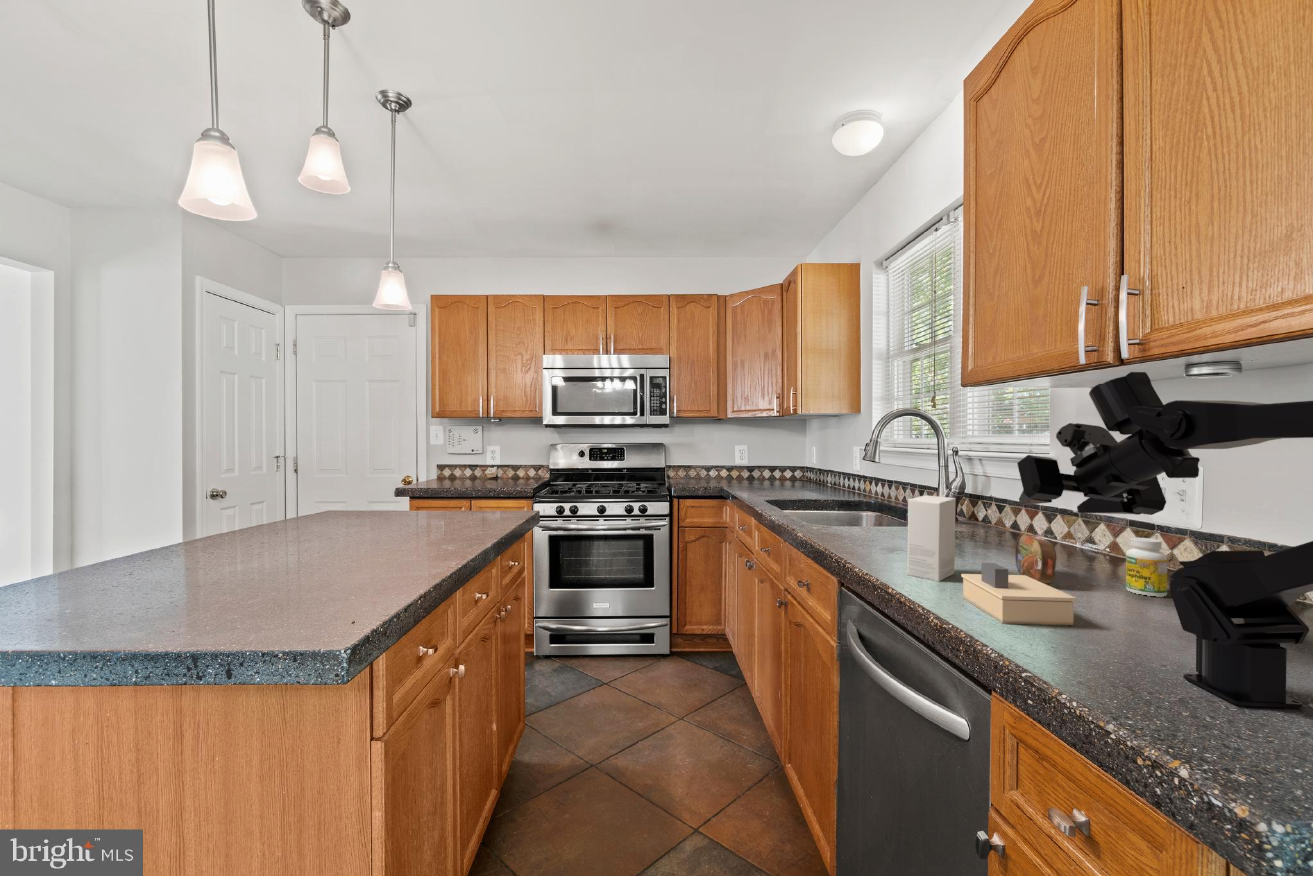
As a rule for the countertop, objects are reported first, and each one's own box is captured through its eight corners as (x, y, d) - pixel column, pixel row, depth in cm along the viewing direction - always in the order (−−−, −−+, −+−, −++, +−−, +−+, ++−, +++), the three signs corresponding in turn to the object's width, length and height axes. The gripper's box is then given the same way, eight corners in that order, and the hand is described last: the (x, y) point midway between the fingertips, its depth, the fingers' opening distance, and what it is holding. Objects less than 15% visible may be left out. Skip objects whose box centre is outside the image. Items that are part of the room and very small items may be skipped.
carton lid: (1075, 601, 78) (1076, 577, 78) (1001, 599, 79) (1002, 576, 79) (1024, 578, 90) (1025, 557, 90) (961, 576, 91) (961, 556, 91)
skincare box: (923, 568, 111) (924, 494, 111) (957, 575, 106) (958, 497, 106) (905, 575, 106) (905, 498, 105) (940, 582, 101) (940, 501, 100)
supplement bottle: (1174, 596, 92) (1175, 541, 92) (1153, 599, 91) (1154, 543, 90) (1138, 587, 97) (1139, 535, 97) (1118, 590, 96) (1118, 537, 96)
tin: (1013, 569, 111) (1013, 529, 111) (1031, 570, 110) (1031, 530, 110) (1038, 589, 97) (1039, 543, 96) (1059, 591, 96) (1059, 544, 95)
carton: (1073, 625, 78) (1073, 602, 78) (1002, 623, 79) (1002, 600, 79) (1024, 600, 90) (1024, 579, 90) (963, 598, 91) (963, 578, 91)
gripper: (1180, 420, 74) (1094, 469, 88) (1046, 402, 74) (981, 453, 88) (1211, 492, 69) (1114, 532, 82) (1066, 472, 69) (994, 515, 82)
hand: (1049, 506), depth 84 cm, fingers open, 9 cm apart
